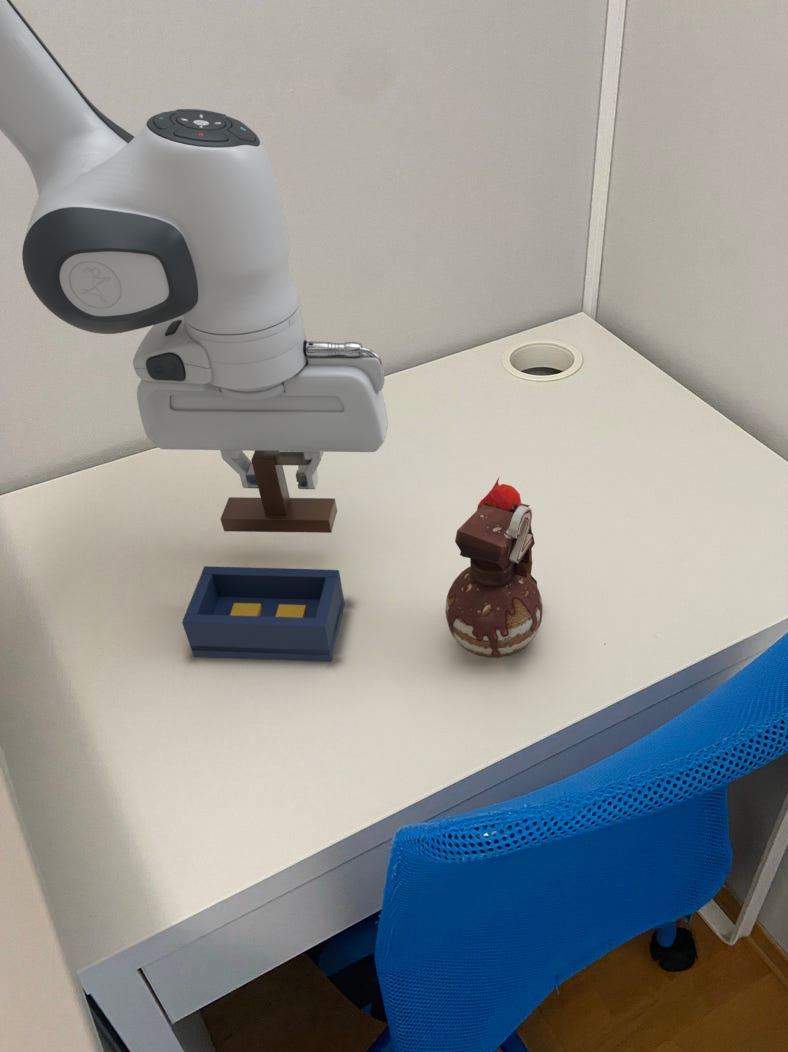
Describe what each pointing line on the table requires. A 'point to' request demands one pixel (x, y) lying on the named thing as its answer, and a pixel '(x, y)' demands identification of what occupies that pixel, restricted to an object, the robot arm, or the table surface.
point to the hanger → (278, 501)
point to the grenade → (496, 578)
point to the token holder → (265, 613)
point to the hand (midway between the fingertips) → (280, 485)
